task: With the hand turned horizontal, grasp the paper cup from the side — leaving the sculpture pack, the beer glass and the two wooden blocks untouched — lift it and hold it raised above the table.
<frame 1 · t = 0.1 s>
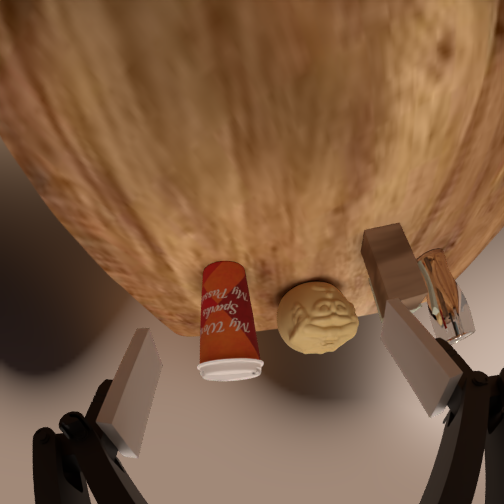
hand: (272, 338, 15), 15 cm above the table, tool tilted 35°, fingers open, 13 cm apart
paper cup: (223, 271, 38), on the table
sculpture: (308, 289, 46), on the table
beer glass: (428, 257, 42), on the table
walnut block: (379, 237, 35), on the table
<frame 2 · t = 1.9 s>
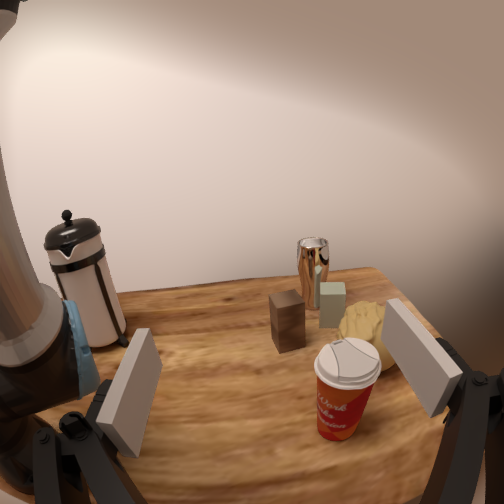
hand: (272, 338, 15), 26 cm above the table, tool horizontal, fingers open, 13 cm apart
paper cup: (336, 426, 33), on the table
sage block: (331, 321, 57), on the table
coffee press: (104, 336, 58), on the table
sculpture: (367, 360, 45), on the table
beer glass: (313, 304, 65), on the table
walnut block: (288, 342, 53), on the table
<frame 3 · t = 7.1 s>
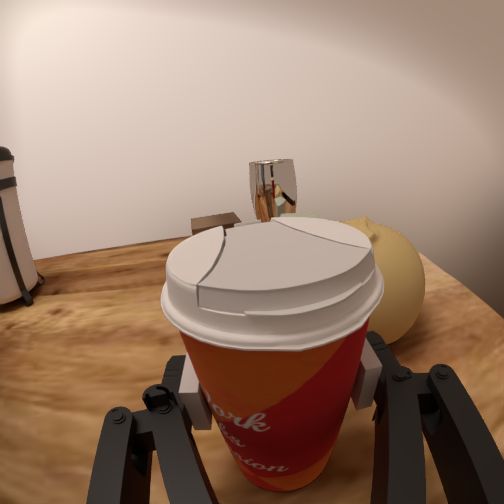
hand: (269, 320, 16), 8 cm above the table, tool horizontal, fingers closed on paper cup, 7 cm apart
paper cup: (283, 457, 14), on the table, touching gripper
coffee press: (17, 296, 39), on the table
sculpture: (357, 328, 26), on the table
beer glass: (278, 256, 46), on the table
walnut block: (226, 301, 34), on the table
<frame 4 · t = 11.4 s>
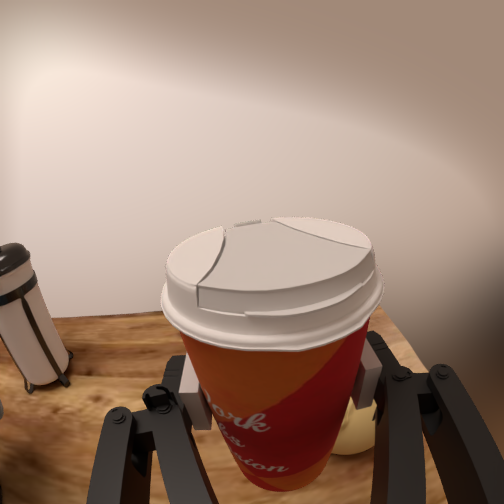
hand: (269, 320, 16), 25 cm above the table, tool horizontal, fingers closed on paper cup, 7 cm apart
paper cup: (283, 458, 14), point 17 cm above the table, touching gripper
coffee press: (50, 371, 44), on the table
sculpture: (342, 431, 31), on the table
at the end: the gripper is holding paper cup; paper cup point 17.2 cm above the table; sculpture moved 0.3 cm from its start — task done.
